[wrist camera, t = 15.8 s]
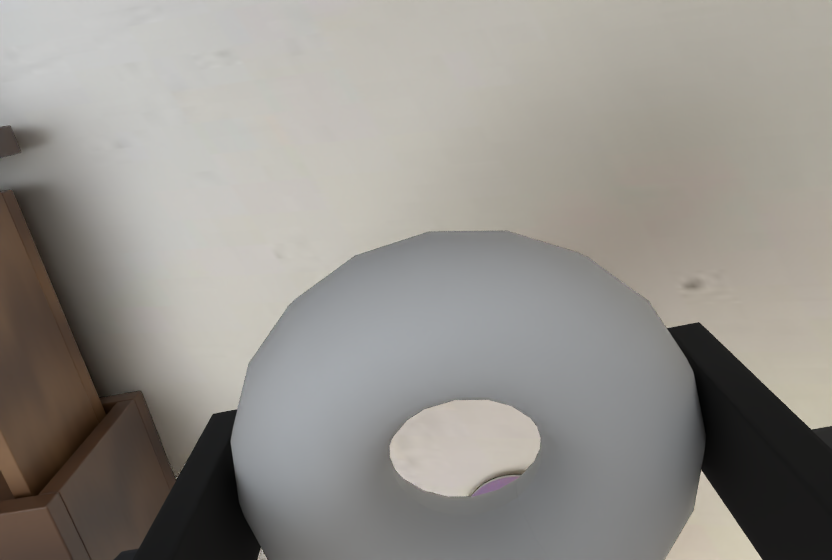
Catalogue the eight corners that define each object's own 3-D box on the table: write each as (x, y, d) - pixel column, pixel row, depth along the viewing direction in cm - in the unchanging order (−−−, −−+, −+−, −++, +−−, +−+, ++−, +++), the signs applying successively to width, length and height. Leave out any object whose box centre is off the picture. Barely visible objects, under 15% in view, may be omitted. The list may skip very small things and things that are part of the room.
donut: (357, 128, 13) (193, 490, 15) (340, 151, 9) (137, 604, 12) (749, 324, 14) (533, 618, 17) (851, 402, 11) (563, 748, 14)
